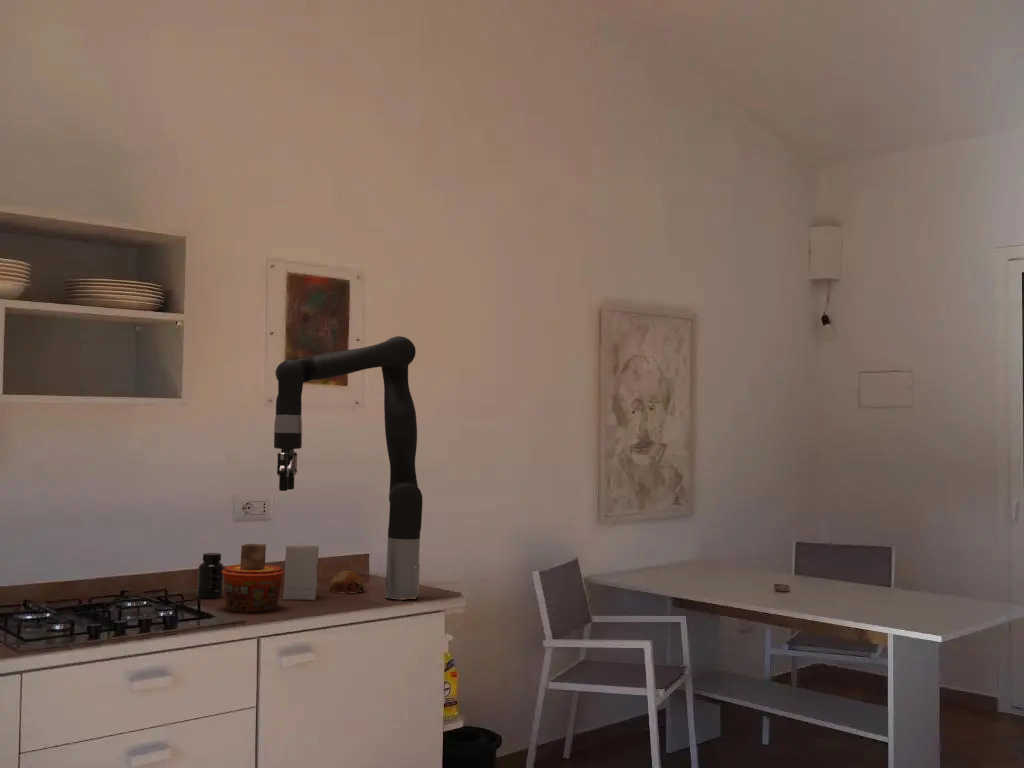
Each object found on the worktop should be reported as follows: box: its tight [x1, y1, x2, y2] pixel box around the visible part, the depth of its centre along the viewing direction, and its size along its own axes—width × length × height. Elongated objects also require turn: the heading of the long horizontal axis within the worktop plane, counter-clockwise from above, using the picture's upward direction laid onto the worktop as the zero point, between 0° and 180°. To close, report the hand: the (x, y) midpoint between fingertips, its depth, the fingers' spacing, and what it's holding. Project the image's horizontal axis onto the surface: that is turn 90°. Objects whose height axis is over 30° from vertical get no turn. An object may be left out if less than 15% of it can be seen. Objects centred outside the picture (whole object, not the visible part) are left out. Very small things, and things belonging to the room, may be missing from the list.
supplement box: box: [282, 542, 320, 601], centre depth 280 cm, size 9×9×15 cm
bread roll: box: [328, 570, 366, 593], centre depth 294 cm, size 10×10×8 cm
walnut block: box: [239, 543, 267, 570], centre depth 259 cm, size 5×5×6 cm
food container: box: [222, 564, 285, 614], centre depth 259 cm, size 16×16×11 cm
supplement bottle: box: [196, 552, 225, 600], centre depth 275 cm, size 7×7×12 cm
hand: (286, 490), depth 275 cm, fingers open, 8 cm apart
